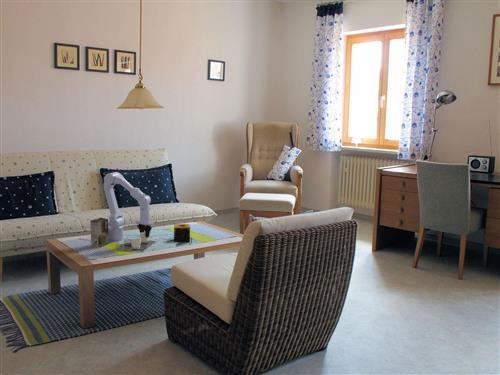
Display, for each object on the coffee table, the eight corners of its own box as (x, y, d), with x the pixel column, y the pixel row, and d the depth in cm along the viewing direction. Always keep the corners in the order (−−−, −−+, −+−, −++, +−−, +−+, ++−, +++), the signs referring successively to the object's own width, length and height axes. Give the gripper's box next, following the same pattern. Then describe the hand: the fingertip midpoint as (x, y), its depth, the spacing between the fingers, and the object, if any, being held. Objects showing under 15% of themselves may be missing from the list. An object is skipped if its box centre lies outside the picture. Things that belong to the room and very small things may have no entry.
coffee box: (101, 242, 317) (100, 217, 315) (109, 244, 314) (108, 218, 312) (90, 245, 309) (90, 220, 307) (98, 247, 306) (98, 221, 304)
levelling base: (116, 251, 299) (116, 244, 298) (132, 241, 322) (132, 234, 321) (142, 254, 296) (142, 246, 295) (156, 243, 319) (156, 236, 319)
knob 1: (129, 248, 300) (129, 239, 299) (133, 246, 304) (133, 236, 303) (138, 249, 299) (138, 239, 298) (142, 247, 304) (142, 237, 303)
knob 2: (141, 243, 312) (141, 233, 311) (139, 241, 316) (139, 231, 315) (150, 242, 314) (150, 233, 313) (148, 240, 319) (148, 231, 318)
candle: (174, 242, 322) (174, 227, 320) (173, 238, 332) (173, 223, 330) (190, 242, 324) (190, 227, 322) (189, 238, 334) (189, 223, 332)
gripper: (157, 215, 311) (157, 237, 314) (141, 212, 320) (141, 233, 322) (149, 217, 306) (149, 239, 308) (133, 214, 314) (133, 235, 316)
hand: (144, 236), depth 315 cm, fingers open, 4 cm apart
